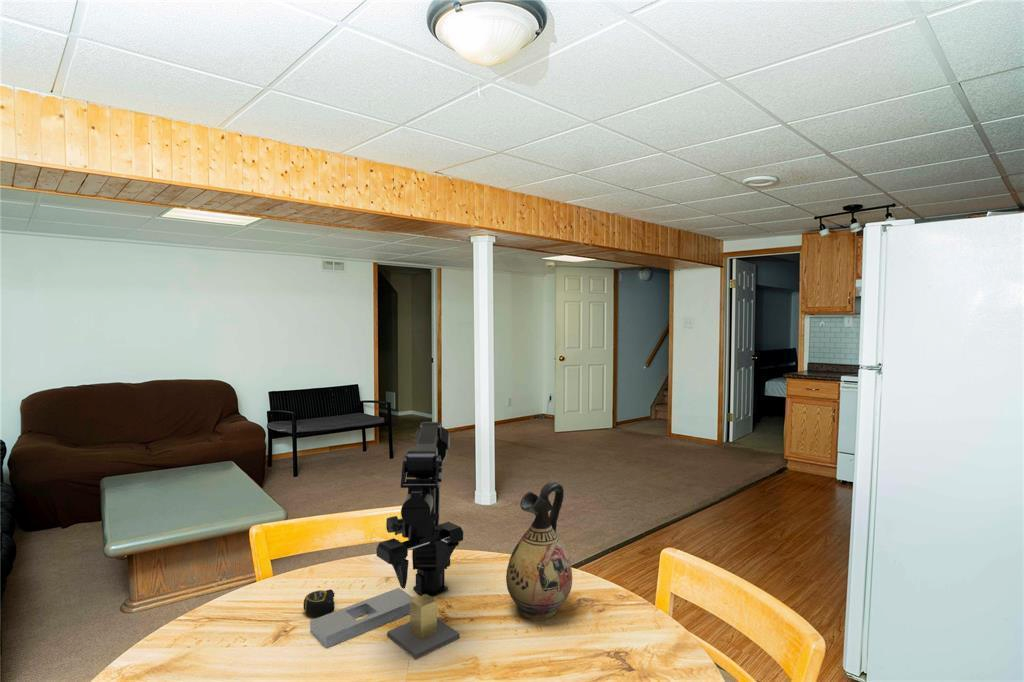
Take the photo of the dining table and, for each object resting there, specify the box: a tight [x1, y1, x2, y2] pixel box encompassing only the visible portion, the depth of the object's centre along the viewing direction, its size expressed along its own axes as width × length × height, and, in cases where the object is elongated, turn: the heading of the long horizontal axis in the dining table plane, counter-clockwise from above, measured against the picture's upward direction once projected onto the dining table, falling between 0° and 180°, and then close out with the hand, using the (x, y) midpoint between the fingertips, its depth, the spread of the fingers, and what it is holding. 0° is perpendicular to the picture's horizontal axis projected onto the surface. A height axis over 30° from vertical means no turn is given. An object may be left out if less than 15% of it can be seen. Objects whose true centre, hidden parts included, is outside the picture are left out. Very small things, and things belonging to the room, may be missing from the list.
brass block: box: [409, 594, 438, 640], centre depth 117 cm, size 4×4×7 cm
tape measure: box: [303, 589, 336, 617], centre depth 128 cm, size 7×7×4 cm
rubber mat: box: [386, 617, 461, 660], centre depth 118 cm, size 11×11×1 cm
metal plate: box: [309, 587, 415, 649], centre depth 124 cm, size 22×8×2 cm, turn 133°
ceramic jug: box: [505, 481, 573, 621], centre depth 129 cm, size 17×15×30 cm
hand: (421, 580), depth 118 cm, fingers open, 9 cm apart
